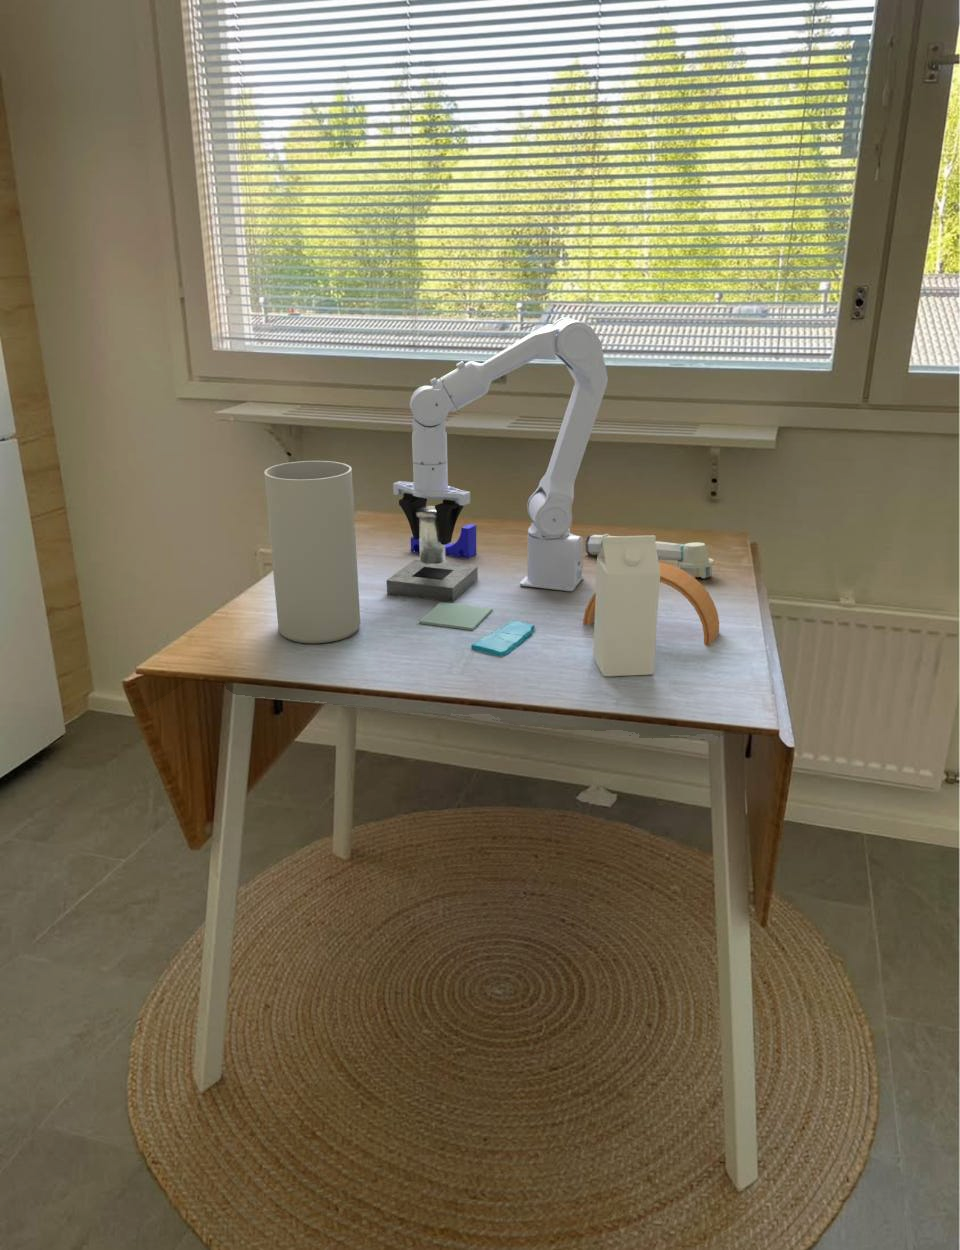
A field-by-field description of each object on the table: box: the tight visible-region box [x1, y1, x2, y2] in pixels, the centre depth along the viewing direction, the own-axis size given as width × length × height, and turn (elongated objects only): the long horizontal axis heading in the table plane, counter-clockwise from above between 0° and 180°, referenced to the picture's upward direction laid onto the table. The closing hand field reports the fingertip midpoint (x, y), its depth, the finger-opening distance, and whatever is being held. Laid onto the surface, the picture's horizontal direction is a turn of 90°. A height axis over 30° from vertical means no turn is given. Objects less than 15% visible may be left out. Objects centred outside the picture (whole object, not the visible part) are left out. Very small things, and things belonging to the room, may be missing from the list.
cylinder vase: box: [263, 460, 361, 645], centre depth 144 cm, size 12×12×25 cm
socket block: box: [385, 559, 479, 603], centre depth 167 cm, size 12×12×2 cm
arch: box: [582, 562, 720, 646], centre depth 147 cm, size 6×20×10 cm, turn 63°
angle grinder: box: [584, 533, 715, 579], centre depth 177 cm, size 5×7×25 cm
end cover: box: [415, 505, 447, 564], centre depth 164 cm, size 5×5×9 cm
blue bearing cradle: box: [410, 523, 477, 559], centre depth 184 cm, size 12×4×6 cm, turn 60°
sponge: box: [470, 619, 535, 657], centre depth 145 cm, size 2×12×6 cm
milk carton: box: [592, 534, 661, 677], centre depth 132 cm, size 7×7×19 cm
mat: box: [419, 601, 493, 631], centre depth 154 cm, size 9×9×1 cm
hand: (432, 540), depth 164 cm, fingers closed on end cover, 5 cm apart
